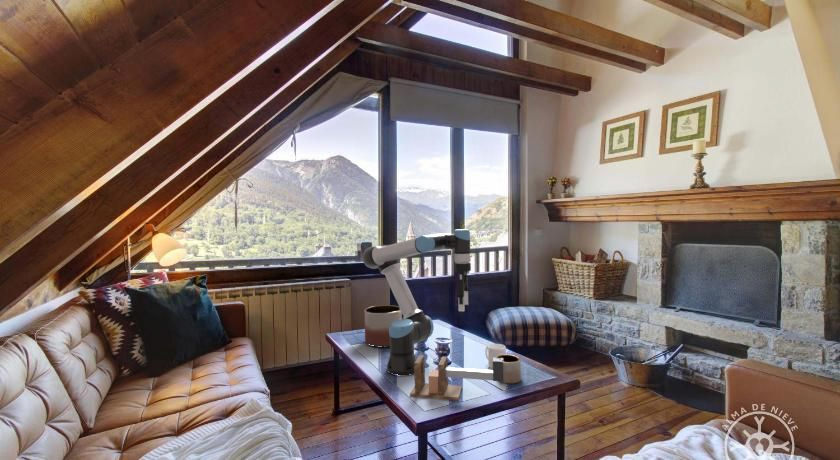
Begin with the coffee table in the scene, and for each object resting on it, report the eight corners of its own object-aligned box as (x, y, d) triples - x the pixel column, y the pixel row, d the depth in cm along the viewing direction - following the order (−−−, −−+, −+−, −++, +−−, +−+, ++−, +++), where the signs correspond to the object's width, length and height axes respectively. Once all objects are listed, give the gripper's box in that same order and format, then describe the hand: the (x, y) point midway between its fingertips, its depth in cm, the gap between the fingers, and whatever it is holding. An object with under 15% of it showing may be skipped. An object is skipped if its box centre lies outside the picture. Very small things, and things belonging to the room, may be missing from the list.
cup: (497, 371, 185) (496, 350, 185) (479, 364, 195) (479, 344, 195) (509, 367, 190) (509, 346, 190) (492, 360, 200) (491, 340, 200)
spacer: (428, 392, 162) (428, 376, 162) (432, 385, 169) (432, 369, 169) (438, 393, 161) (438, 376, 161) (441, 386, 168) (441, 370, 168)
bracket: (409, 396, 162) (409, 363, 162) (416, 385, 173) (415, 354, 172) (458, 400, 157) (457, 366, 157) (462, 388, 168) (461, 357, 167)
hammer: (443, 377, 162) (443, 358, 162) (445, 373, 166) (444, 354, 166) (503, 381, 156) (503, 361, 156) (503, 377, 160) (503, 358, 160)
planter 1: (401, 348, 223) (400, 313, 222) (362, 349, 223) (361, 313, 222) (403, 336, 245) (402, 304, 244) (368, 337, 245) (367, 305, 244)
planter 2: (493, 375, 181) (492, 354, 181) (516, 374, 182) (516, 353, 182) (500, 385, 170) (499, 363, 170) (524, 383, 171) (524, 362, 171)
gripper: (467, 265, 171) (468, 314, 171) (473, 259, 195) (474, 302, 195) (450, 265, 172) (451, 313, 173) (458, 259, 197) (459, 301, 197)
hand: (463, 307), depth 184 cm, fingers open, 13 cm apart
